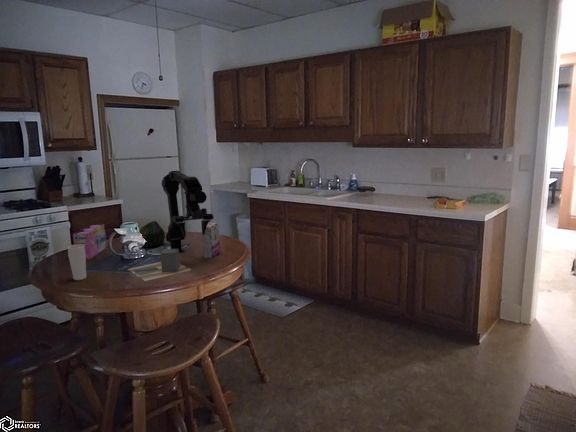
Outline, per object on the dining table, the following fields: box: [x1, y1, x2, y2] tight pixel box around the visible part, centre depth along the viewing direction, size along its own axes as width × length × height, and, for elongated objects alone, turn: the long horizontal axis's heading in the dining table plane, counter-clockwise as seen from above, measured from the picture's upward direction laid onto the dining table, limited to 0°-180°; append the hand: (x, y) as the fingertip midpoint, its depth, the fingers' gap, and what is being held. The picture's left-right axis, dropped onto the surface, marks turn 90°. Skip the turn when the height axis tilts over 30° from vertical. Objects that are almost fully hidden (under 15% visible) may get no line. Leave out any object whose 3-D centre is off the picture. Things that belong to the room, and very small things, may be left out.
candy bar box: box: [202, 222, 221, 259], centre depth 217 cm, size 11×5×16 cm, turn 168°
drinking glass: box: [67, 244, 87, 281], centre depth 187 cm, size 7×7×15 cm
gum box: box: [72, 223, 108, 260], centre depth 229 cm, size 24×8×14 cm, turn 2°
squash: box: [139, 220, 166, 248], centre depth 240 cm, size 14×15×15 cm
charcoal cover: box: [159, 248, 181, 272], centre depth 195 cm, size 7×7×9 cm
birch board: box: [127, 261, 192, 282], centre depth 197 cm, size 22×22×1 cm
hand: (194, 235), depth 203 cm, fingers open, 9 cm apart
